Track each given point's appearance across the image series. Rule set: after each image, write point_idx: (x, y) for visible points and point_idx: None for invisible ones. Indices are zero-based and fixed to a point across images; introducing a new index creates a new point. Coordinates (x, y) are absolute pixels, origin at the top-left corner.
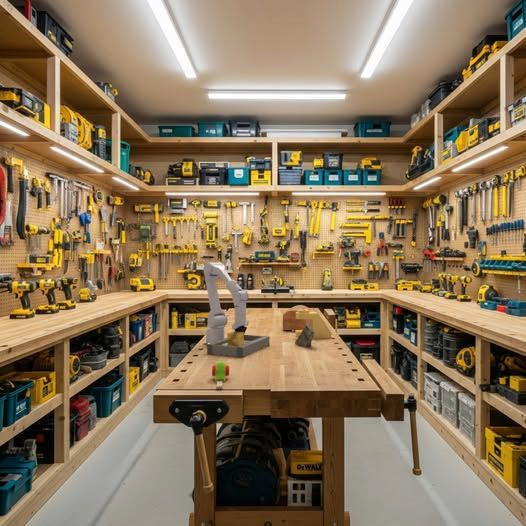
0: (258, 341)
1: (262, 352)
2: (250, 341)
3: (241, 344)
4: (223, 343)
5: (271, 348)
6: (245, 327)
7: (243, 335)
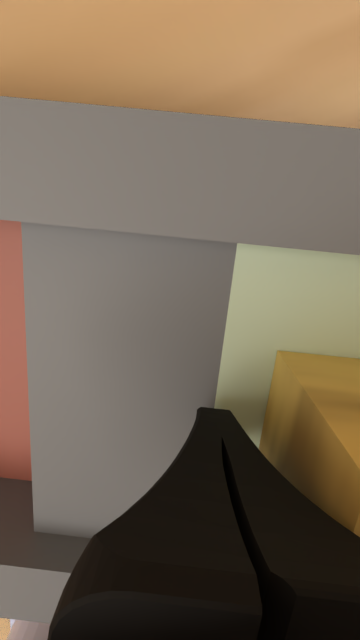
0: (204, 117)
1: (323, 40)
2: (59, 330)
3: (357, 361)
4: None
5: (35, 3)
6: (249, 610)
7: (347, 427)
